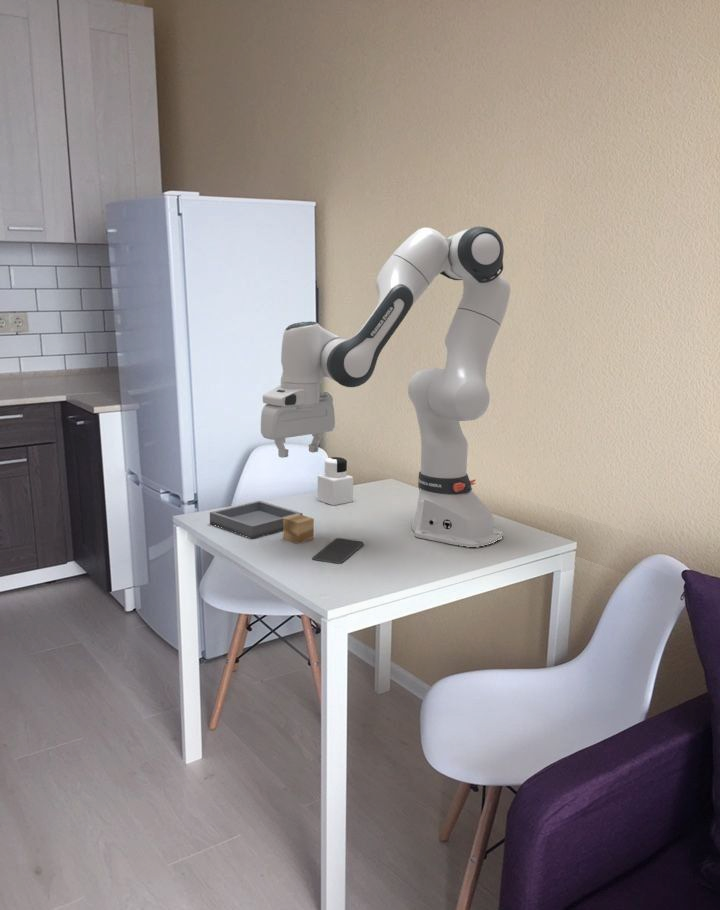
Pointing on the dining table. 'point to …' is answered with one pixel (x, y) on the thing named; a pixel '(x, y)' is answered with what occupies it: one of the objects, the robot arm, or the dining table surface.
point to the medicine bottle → (335, 482)
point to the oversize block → (298, 528)
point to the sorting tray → (252, 518)
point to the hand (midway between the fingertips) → (298, 454)
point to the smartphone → (338, 551)
